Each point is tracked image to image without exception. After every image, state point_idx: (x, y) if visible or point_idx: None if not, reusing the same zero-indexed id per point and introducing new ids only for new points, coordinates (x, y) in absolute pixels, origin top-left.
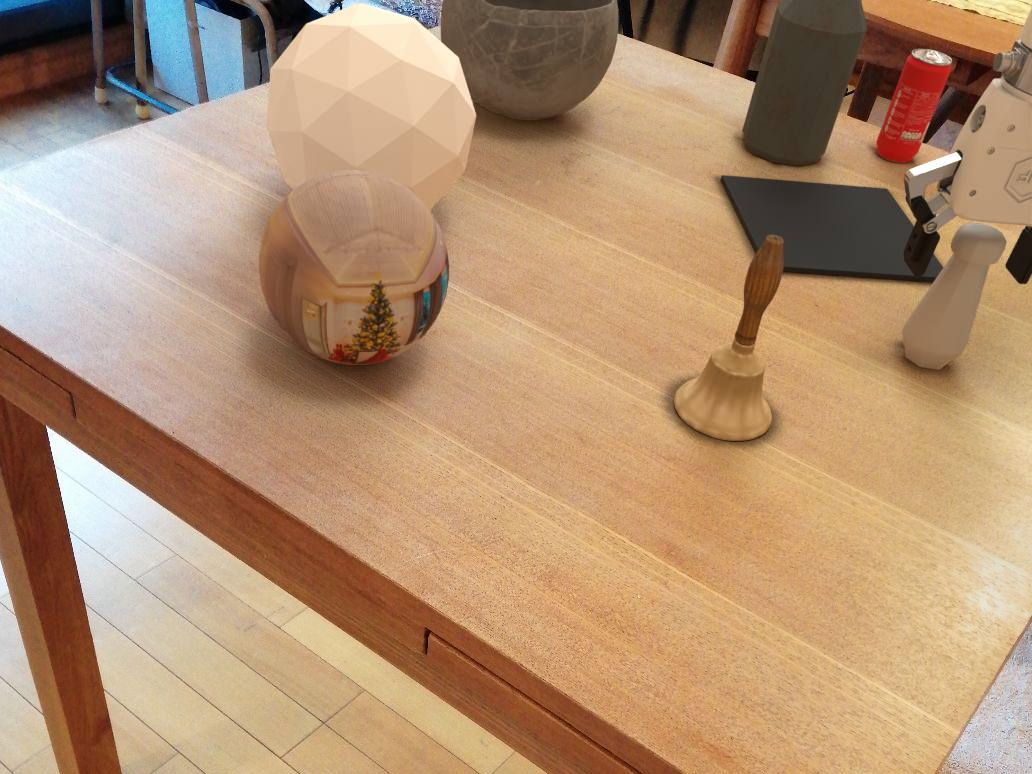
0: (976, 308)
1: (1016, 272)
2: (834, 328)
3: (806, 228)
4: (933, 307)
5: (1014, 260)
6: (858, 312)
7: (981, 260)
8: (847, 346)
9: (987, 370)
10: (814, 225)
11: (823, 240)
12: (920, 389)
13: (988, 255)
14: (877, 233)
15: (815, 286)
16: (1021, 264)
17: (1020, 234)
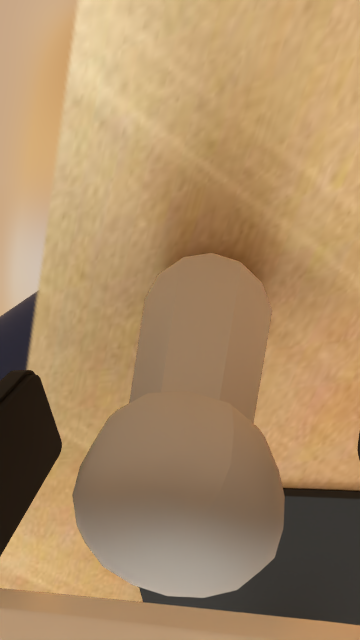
0: (143, 333)
1: (37, 408)
2: (357, 359)
3: (301, 575)
4: (255, 327)
5: (37, 452)
6: (288, 406)
7: (189, 401)
8: (355, 308)
9: (101, 276)
10: (284, 580)
11: (284, 554)
12: (253, 185)
13: (165, 418)
14: None
15: (338, 462)
16: (19, 427)
17: (6, 544)
